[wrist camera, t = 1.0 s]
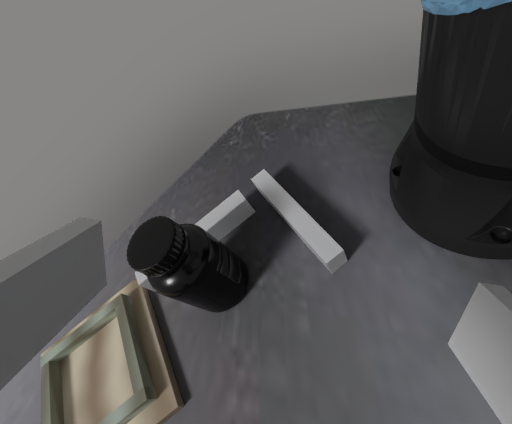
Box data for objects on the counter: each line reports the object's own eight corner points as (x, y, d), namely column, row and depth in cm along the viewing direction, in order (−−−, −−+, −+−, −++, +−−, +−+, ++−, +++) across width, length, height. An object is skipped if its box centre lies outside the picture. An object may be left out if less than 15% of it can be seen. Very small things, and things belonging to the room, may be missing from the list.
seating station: (143, 278, 36) (129, 272, 34) (184, 405, 26) (167, 407, 24) (48, 354, 36) (29, 353, 34) (53, 510, 26) (26, 521, 24)
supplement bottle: (214, 247, 34) (147, 196, 25) (260, 264, 31) (202, 213, 21) (186, 299, 32) (102, 266, 23) (232, 325, 29) (153, 297, 19)
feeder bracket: (272, 183, 36) (263, 169, 33) (347, 261, 27) (343, 249, 25) (151, 279, 36) (134, 272, 33) (188, 388, 27) (169, 389, 25)
